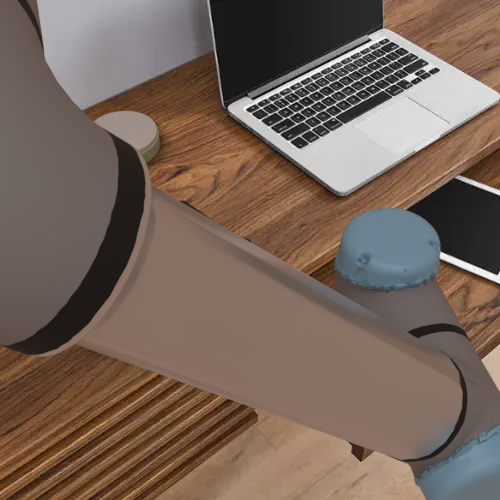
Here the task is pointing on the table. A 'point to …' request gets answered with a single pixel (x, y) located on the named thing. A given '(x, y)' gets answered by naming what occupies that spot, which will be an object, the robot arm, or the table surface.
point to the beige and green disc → (133, 131)
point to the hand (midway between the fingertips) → (76, 234)
